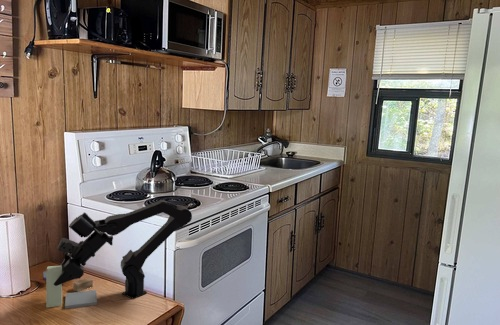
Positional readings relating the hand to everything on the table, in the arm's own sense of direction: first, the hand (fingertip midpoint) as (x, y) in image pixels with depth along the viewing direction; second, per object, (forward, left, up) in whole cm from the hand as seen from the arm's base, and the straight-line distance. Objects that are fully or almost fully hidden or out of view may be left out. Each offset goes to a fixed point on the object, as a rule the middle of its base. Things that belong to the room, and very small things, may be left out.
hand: (55, 279), depth 133 cm
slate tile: (-4, -7, -8) cm, 12 cm away
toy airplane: (+16, -12, -9) cm, 22 cm away
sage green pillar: (0, 0, -8) cm, 8 cm away
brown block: (+4, -13, -9) cm, 16 cm away
